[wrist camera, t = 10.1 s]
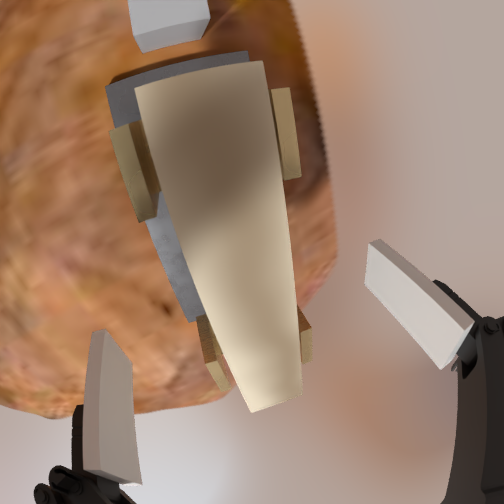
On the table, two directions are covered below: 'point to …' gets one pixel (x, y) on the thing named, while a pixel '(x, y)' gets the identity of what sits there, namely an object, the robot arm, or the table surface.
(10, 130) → the table surface
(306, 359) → the bracket stand
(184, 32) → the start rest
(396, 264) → the robot arm
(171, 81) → the beige long block
